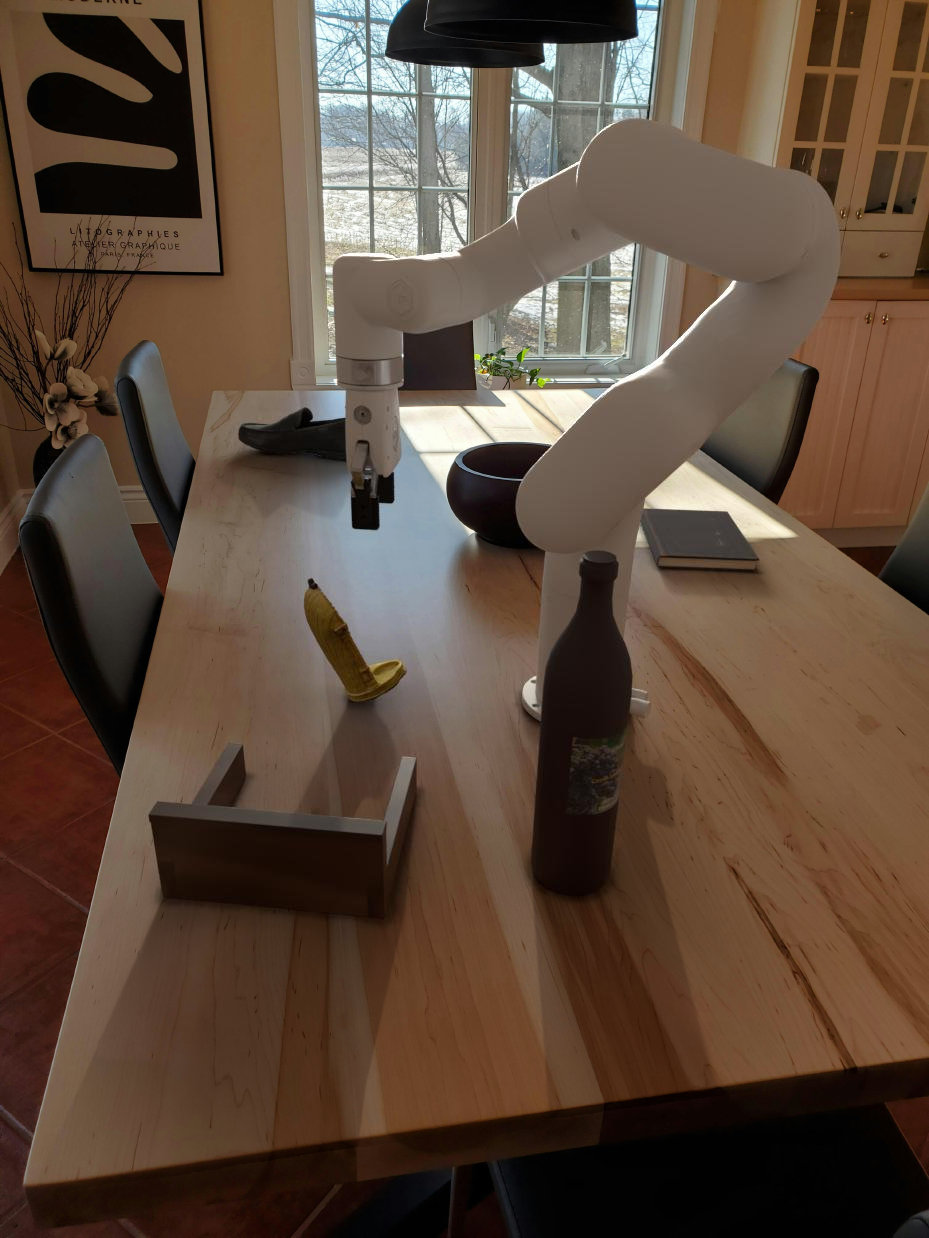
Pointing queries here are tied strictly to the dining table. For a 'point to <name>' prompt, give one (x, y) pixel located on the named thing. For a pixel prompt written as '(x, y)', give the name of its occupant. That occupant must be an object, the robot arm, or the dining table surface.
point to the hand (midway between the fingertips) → (374, 515)
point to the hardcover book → (697, 540)
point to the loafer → (297, 436)
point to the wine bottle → (582, 739)
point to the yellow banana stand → (347, 651)
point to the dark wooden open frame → (279, 848)
